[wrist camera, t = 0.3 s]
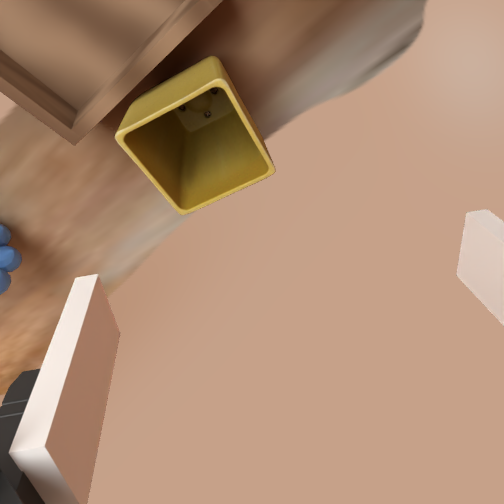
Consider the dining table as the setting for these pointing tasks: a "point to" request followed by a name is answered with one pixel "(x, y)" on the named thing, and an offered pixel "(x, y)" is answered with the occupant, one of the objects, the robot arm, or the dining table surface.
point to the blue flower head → (7, 258)
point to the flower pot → (195, 138)
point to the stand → (86, 53)
